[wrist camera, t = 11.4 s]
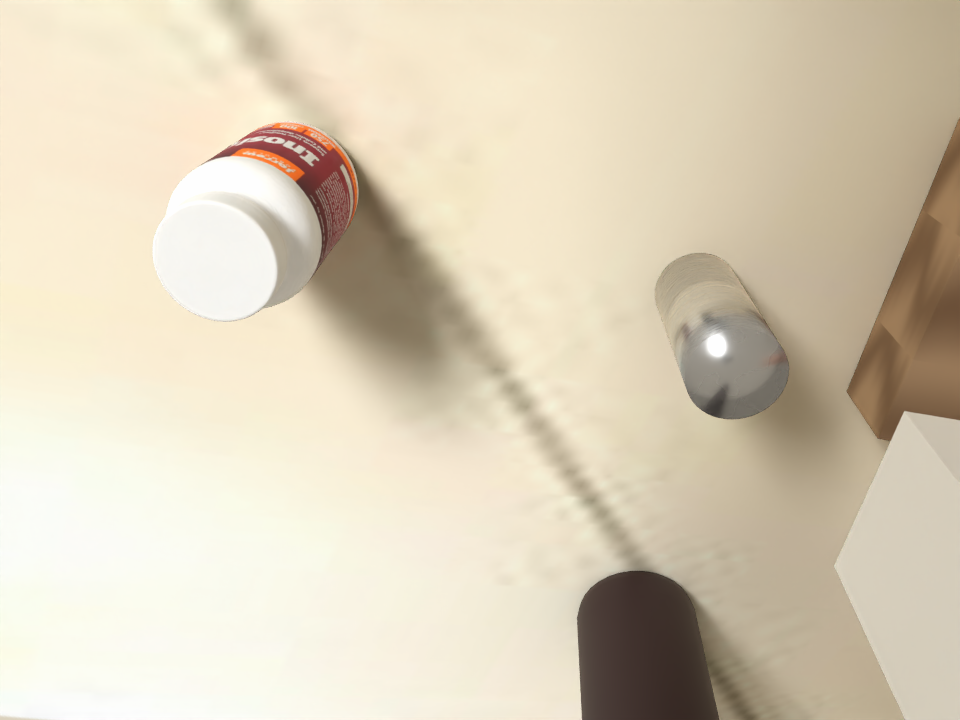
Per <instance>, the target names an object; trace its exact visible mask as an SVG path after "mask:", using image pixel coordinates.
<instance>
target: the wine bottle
mask: <svg viewBox="0 0 960 720" xmlns="http://www.w3.org/2000/svg"><path fill="white" fill-rule="evenodd" d="M577 625H578V646H579V666H580V687H581V707H582V720H719V716H718V712H717V708H716V703H715V699H714V694H713V690H712V685H711V681H710V676H709V672H708V667H707V663H706V658H705V654H704V650H703V645H702V641H701V636H700V632H699V627H698V623H697V618H696V614H695V609H694V607H693V605H692V603H691V601H690V599H689V597H688V596H687V594H686V593H685V592H684V590H683V589H682V588H681V587H680V586H679V585H678V584H676V583H675V582H674V581H672V580H670V579H668V578H666V577H664V576H662V575H658V574H655V573H651V572H644V571H629V572H623V573H618V574H615V575H612V576H609V577H607V578H605V579H603V580H601V581H599V582H598V583H597V584H595V585H594V586H593V587H591V588H590V590H589V591H588V592H587V593H586V594H585V596H584V598H583V600H582V602H581V605H580V608H579V612H578V617H577Z"/></svg>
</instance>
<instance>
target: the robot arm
mask: <svg viewBox="0 0 960 720" xmlns="http://www.w3.org/2000/svg"><path fill="white" fill-rule="evenodd" d="M834 567H835V569H836V571H837V574H838V576H839V578H840V580H841V582H842V584H843V587H844V589H845V591H846V593H847V595H848V597H849V600H850V602H851V604H852V606H853V608H854V611H855V613H856V615H857V617H858V619H859V621H860V624H861V626H862V628H863V630H864V632H865V634H866V637H867V639H868V641H869V643H870V645H871V647H872V650H873V652H874V654H875V656H876V658H877V660H878V663H879V665H880V667H881V669H882V671H883V673H884V676H885V678H886V680H887V682H888V684H889V686H890V689H891V691H892V693H893V695H894V697H895V699H896V702H897V704H898V706H899V708H900V710H901V712H902V715H903V717H904V719H905V720H960V420H955V419H949V418H943V417H937V416H931V415H925V414H919V413H913V412H907V411H904V413H903V415H902V417H901V419H900V422H899V424H898V426H897V428H896V430H895V433H894V435H893V437H892V439H891V441H890V444H889V446H888V448H887V450H886V452H885V455H884V457H883V459H882V461H881V463H880V466H879V468H878V470H877V472H876V475H875V477H874V479H873V481H872V483H871V486H870V488H869V490H868V492H867V494H866V497H865V499H864V501H863V503H862V505H861V508H860V510H859V512H858V514H857V516H856V519H855V521H854V523H853V525H852V527H851V530H850V532H849V534H848V536H847V539H846V541H845V543H844V545H843V547H842V550H841V552H840V554H839V556H838V558H837V561H836V563H835V565H834Z"/></svg>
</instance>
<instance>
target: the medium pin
mask: <svg viewBox="0 0 960 720" xmlns="http://www.w3.org/2000/svg"><path fill="white" fill-rule="evenodd" d="M655 301H656V305H657V308H658V310H659V313H660V316H661V319H662V322H663V324H664V327H665V330H666V333H667V336H668V338H669V341H670V344H671V347H672V350H673V352H674V355H675V358H676V361H677V364H678V366H679V369H680V372H681V375H682V378H683V380H684V383H685V386H686V389H687V392H688V394H689V396H690V398H691V399H692V401H693V402H694V403H695V405H696V406H697V407H698V408H700V409H701V410H702V411H704V412H706V413H707V414H709V415H712V416H714V417H718V418H723V419H740V418H746V417H749V416H752V415H755V414H757V413H759V412H761V411H763V410H765V409H766V408H768V407H769V406H770V405H771V404H772V403H774V402H775V401H776V399H777V398H778V397H779V396H780V394H781V393H782V391H783V389H784V388H785V385H786V383H787V379H788V374H789V365H788V360H787V357H786V354H785V352H784V350H783V349H782V347H781V346H780V344H779V342H778V341H777V339H776V338H775V336H774V335H773V333H772V331H771V330H770V328H769V327H768V325H767V324H766V322H765V320H764V319H763V317H762V316H761V314H760V313H759V311H758V309H757V308H756V306H755V305H754V303H753V301H752V300H751V298H750V297H749V295H748V294H747V292H746V290H745V289H744V287H743V286H742V284H741V283H740V281H739V279H738V278H737V276H736V275H735V273H734V272H733V270H732V268H731V267H730V266H729V265H728V264H727V263H726V262H725V261H724V260H722V259H721V258H719V257H717V256H714V255H711V254H706V253H694V254H689V255H686V256H683V257H681V258H678V259H677V260H675V261H673V262H672V263H671V264H670V265H668V266H667V267H666V268H665V270H664V271H663V272H662V273H661V275H660V277H659V279H658V281H657V284H656V288H655Z"/></svg>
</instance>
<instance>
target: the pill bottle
mask: <svg viewBox="0 0 960 720" xmlns="http://www.w3.org/2000/svg"><path fill="white" fill-rule="evenodd" d="M358 196H359V188H358V180H357V176H356V172H355V169H354V167H353V164H352V162H351V160H350V158H349V157H348V155H347V154H346V152H345V151H344V150H343V148H342V147H341V146H340V145H339V144H338V143H337V142H336V141H335V140H334V139H333V138H332V137H331V136H329V135H328V134H326V133H325V132H323V131H322V130H320V129H318V128H316V127H314V126H311V125H308V124H304V123H299V122H290V121H285V122H276V123H272V124H268V125H266V126H263V127H261V128H258V129H257V130H255V131H253V132H252V133H250V134H248V135H247V136H245V137H244V138H242V139H241V140H239V141H238V142H236V143H234V144H233V145H231V146H229V147H227V148H226V149H225V150H223V151H222V152H220V153H219V154H217V155H216V156H214V157H213V158H211V159H210V160H208V161H207V162H205V163H203V164H202V165H200V166H199V167H197V168H196V169H194V170H193V171H191V172H190V173H189V174H188V175H187V176H186V177H185V178H184V179H183V180H182V181H181V182H180V183H179V185H178V186H177V187H176V189H175V190H174V192H173V194H172V196H171V198H170V201H169V204H168V208H167V212H166V217H165V218H164V219H163V220H162V222H161V223H160V225H159V227H158V229H157V231H156V233H155V237H154V241H153V261H154V266H155V269H156V272H157V275H158V277H159V279H160V281H161V283H162V285H163V286H164V288H165V289H166V291H167V292H168V293H169V294H170V295H171V297H172V298H173V299H174V300H175V301H177V302H178V303H179V304H180V305H181V306H182V307H184V308H185V309H187V310H188V311H190V312H192V313H194V314H196V315H198V316H200V317H203V318H206V319H210V320H214V321H223V322H226V321H237V320H241V319H244V318H247V317H250V316H252V315H254V314H255V313H257V312H259V311H260V310H261V309H262V308H268V307H272V306H275V305H277V304H280V303H282V302H285V301H286V300H288V299H290V298H291V297H293V296H294V295H296V294H297V293H298V292H299V291H300V290H301V289H302V288H303V287H304V286H305V285H306V284H307V282H308V281H309V280H310V279H311V277H312V276H313V275H314V273H315V272H316V270H317V269H318V268H319V266H320V265H321V263H322V262H323V260H324V259H325V258H326V256H327V255H328V254H329V252H330V251H331V250H332V248H333V247H334V245H335V244H336V243H337V241H338V240H339V239H340V237H341V236H342V235H343V233H344V232H345V231H346V229H347V228H348V226H349V224H350V223H351V221H352V219H353V217H354V214H355V212H356V208H357V204H358Z"/></svg>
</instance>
